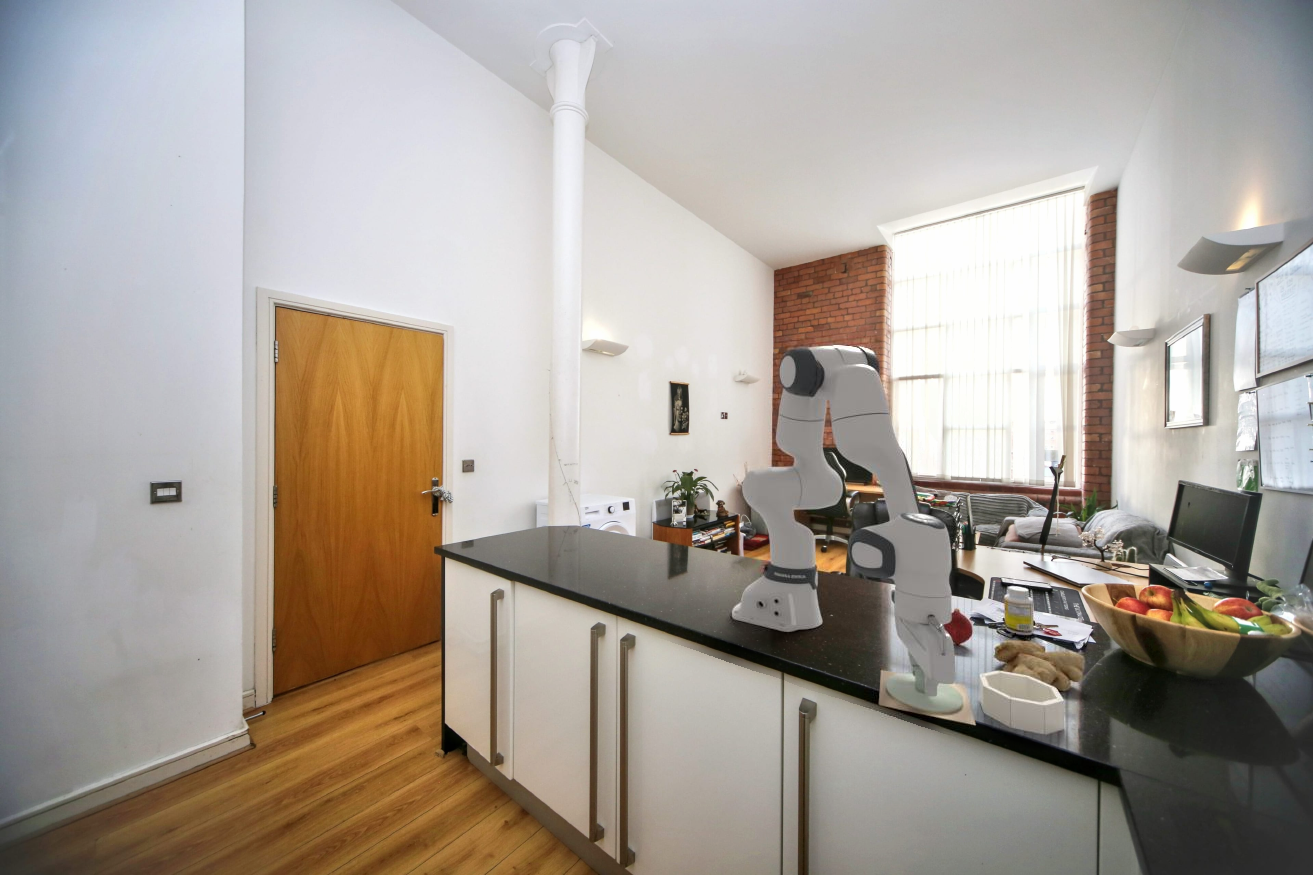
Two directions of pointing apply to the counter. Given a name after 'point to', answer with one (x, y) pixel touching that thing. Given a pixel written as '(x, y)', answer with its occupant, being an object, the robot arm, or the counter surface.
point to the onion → (959, 628)
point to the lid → (923, 693)
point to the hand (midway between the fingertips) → (923, 684)
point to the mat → (960, 716)
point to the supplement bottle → (1018, 611)
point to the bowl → (1022, 702)
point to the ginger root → (1041, 663)
